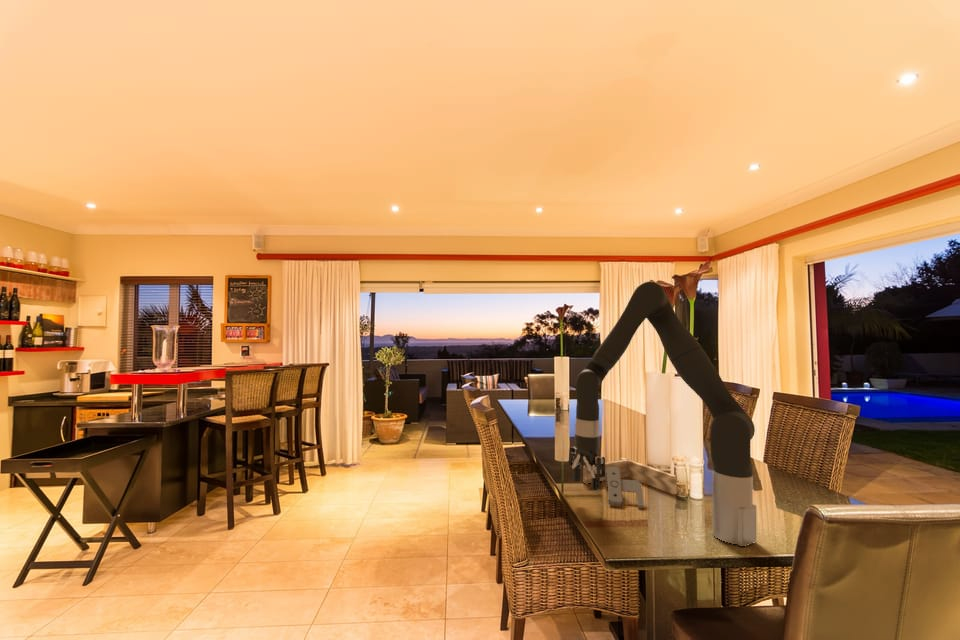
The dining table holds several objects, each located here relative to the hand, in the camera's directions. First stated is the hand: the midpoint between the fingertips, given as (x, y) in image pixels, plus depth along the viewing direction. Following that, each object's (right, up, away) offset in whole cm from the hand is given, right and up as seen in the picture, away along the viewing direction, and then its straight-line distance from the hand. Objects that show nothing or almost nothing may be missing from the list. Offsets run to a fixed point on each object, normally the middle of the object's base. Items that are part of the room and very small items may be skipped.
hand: (585, 485), depth 136 cm
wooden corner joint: (+18, -7, +16) cm, 25 cm away
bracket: (+14, -7, +6) cm, 17 cm away
